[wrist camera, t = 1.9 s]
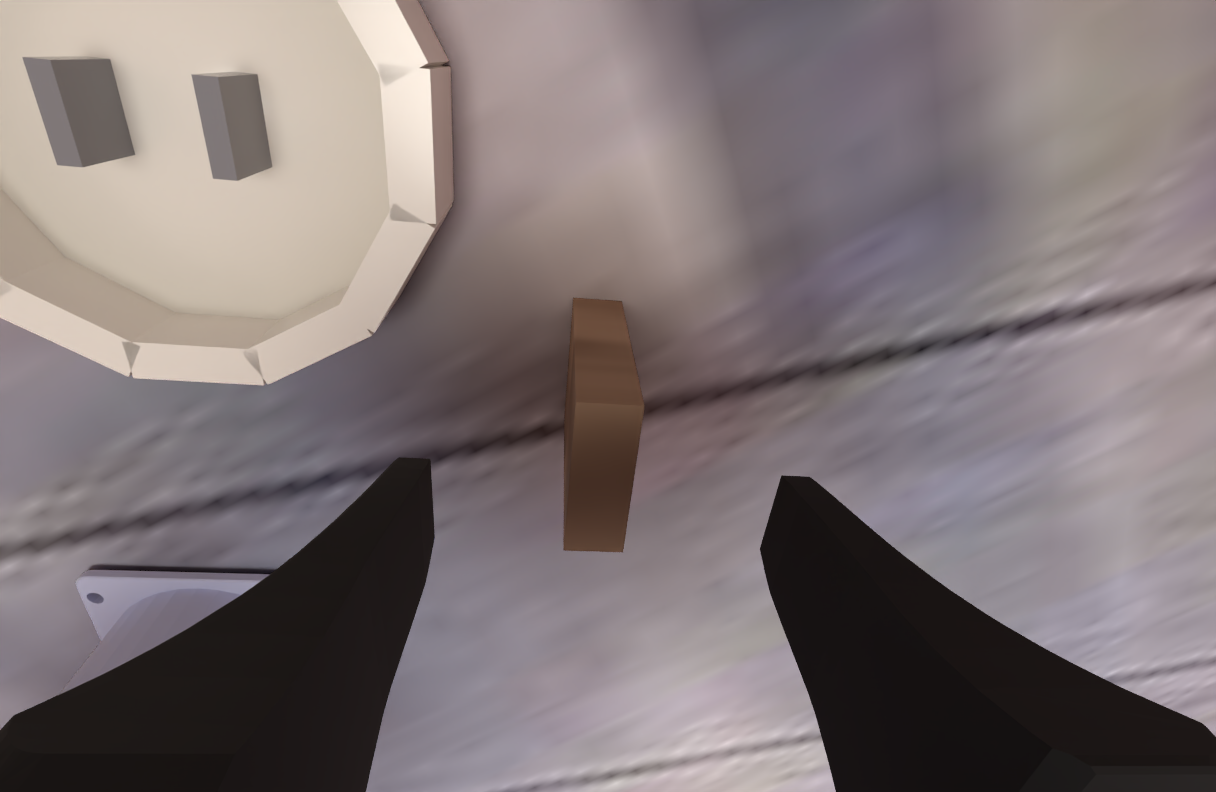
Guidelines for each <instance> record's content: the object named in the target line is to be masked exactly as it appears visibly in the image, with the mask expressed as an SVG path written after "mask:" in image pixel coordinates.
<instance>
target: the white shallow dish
mask: <svg viewBox="0 0 1216 792" xmlns="http://www.w3.org/2000/svg"><path fill="white" fill-rule="evenodd" d="M447 62H449V60H448V58H447V56H446V54H445V52H444V50H443V48H442V46H441V44H440V42H439V40H438V38H437V36H436V35H435V33H434V31H433V29H432V27H431V25H430V23H429V21H428V19H427V17H426V15H425V13H424V11H423V9H422V7H421V5H420V3H419V1H418V0H0V318H2V319H4V320H6V321H9V322H11V323H13V324H15V325H17V326H19V327H22V328H24V329H26V330H28V331H30V332H32V333H35V334H37V335H39V336H41V337H43V338H45V339H48V340H50V341H52V342H54V343H56V344H58V345H61V346H63V347H65V348H67V349H69V350H71V351H74V352H76V353H78V354H80V355H82V356H84V357H87V358H89V359H91V360H93V361H95V362H97V363H100V364H102V365H104V366H106V367H108V368H110V369H113V370H115V371H117V372H119V373H121V374H123V375H126V376H128V377H129V376H130V375H133V378H141V379H159V380H177V381H195V382H213V383H231V384H249V385H265V384H266V383H267V384H271V383H273V382H275V381H277V380H279V379H281V378H283V377H285V376H288V375H290V374H292V373H294V372H296V371H298V370H300V369H302V368H304V367H307V366H309V365H311V364H313V363H315V362H317V361H319V360H321V359H323V358H326V357H328V356H330V355H332V354H334V353H336V352H338V351H340V350H343V349H345V348H347V347H349V346H351V345H353V344H355V343H357V342H359V341H362V340H364V339H366V338H368V337H370V336H372V335H373V333H375V332H376V330H377V329H378V328H379V326H380V325H381V323H382V322H383V320H384V319H385V317H386V316H387V314H388V313H389V311H390V310H391V308H392V307H393V306H394V304H395V303H396V301H397V300H398V298H399V297H400V295H401V293H402V291H403V290H404V288H405V286H406V285H407V283H408V281H409V279H410V278H411V276H412V274H413V273H414V271H415V269H416V267H417V266H418V264H419V262H420V260H421V259H422V257H423V255H424V254H425V252H426V250H427V248H428V247H429V245H430V243H431V241H432V240H433V238H434V236H435V235H436V233H437V231H438V229H439V228H440V226H441V224H442V222H443V221H444V219H445V217H446V216H447V214H448V212H449V210H450V209H451V207H452V205H453V204H452V202H453V201H454V186H453V145H452V104H451V67H450V66H442V65H443V64H445V63H447Z"/></svg>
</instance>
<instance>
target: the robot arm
mask: <svg viewBox="0 0 1216 792" xmlns="http://www.w3.org/2000/svg"><path fill="white" fill-rule="evenodd" d="M434 538H435V535H434V517H433V498H432V480H431V461H430V459H420V458H398V459H397V460H395V461H394V462H393V463H392V464H391V465H390V466H389V467H388V468H387V469H386V470H385V471H384V472H383V473H382V474H381V475H380V476H379V477H378V479H377V480H376V481H375V482H374V483H373V484H372V485H371V486H370V487H369V488H368V489H367V490H366V491H365V492H364V493H363V494H362V495H361V496H360V497H359V498H358V499H357V500H356V501H355V502H354V503H353V504H351V505H350V506H349V507H348V508H347V509H346V510H345V511H344V512H343V513H342V514H341V515H340V516H339V517H338V518H337V519H336V520H335V521H334V522H332V523H331V524H330V525H329V526H328V527H327V528H326V529H325V530H324V531H322V532H321V533H320V534H319V535H318V536H317V537H315V538H314V539H313V540H312V541H311V542H310V543H308V544H307V545H306V546H305V547H304V548H302V549H301V550H300V551H299V552H298V553H297V554H295V555H294V556H293V557H292V558H291V559H289V560H288V561H287V562H285V563H284V564H283V565H282V566H280V567H279V568H278V569H276V570H275V571H274V572H273V573H271V574H237V573H199V572H161V571H123V570H87V571H85V572H84V573H83V574H82V575H81V576H80V577H79V578H78V579H77V581H76V582H75V583H76V587H77V590H78V592H79V594H80V596H81V598H82V601H83V603H84V605H85V607H86V609H87V612H88V614H89V616H90V618H91V621H92V623H93V625H94V627H95V629H96V632H97V634H98V636H99V638H100V640H101V642H100V643H99V645H98V646H97V647H96V648H95V650H94V651H93V652H92V653H91V655H90V656H89V657H88V658H87V660H86V661H85V662H84V664H83V665H82V666H81V667H80V669H79V670H78V671H77V672H76V674H75V675H74V676H73V677H72V679H71V680H70V681H69V683H68V684H67V685H66V686H65V688H64V689H63V690H62V691H61V693H60V694H59V695H57V696H55V697H53V698H51V699H49V700H47V701H45V702H42V703H40V704H38V705H36V706H34V707H32V708H29V709H27V710H25V711H23V712H20V713H18V714H16V715H14V716H13V717H12V718H11V719H10V720H9V721H8V722H7V723H6V724H5V726H4V727H3V728H2V729H1V730H0V792H366V788H367V783H368V779H369V774H370V770H371V765H372V761H373V756H374V752H375V748H376V743H377V739H378V735H379V730H380V726H381V722H382V717H383V713H384V709H385V706H386V702H387V699H388V695H389V692H390V688H391V685H392V682H393V679H394V676H395V673H396V670H397V667H398V664H399V661H400V658H401V655H402V652H403V649H404V646H405V643H406V640H407V637H408V634H409V632H410V629H411V626H412V623H413V620H414V617H415V614H416V610H417V607H418V604H419V601H420V598H421V595H422V592H423V589H424V586H425V583H426V578H427V573H428V568H429V564H430V559H431V553H432V548H433V543H434ZM760 551H761V556H762V560H763V565H764V570H765V574H766V578H767V582H768V586H769V590H770V594H771V596H772V599H773V602H774V605H775V607H776V610H777V613H778V615H779V618H780V621H781V623H782V626H783V629H784V631H785V634H786V636H787V639H788V642H789V644H790V647H791V649H792V652H793V655H794V657H795V660H796V662H797V665H798V668H799V670H800V673H801V675H802V678H803V681H804V683H805V686H806V688H807V691H808V694H809V697H810V700H811V703H812V705H813V708H814V711H815V714H816V718H817V721H818V725H819V729H820V732H821V736H822V740H823V743H824V747H825V751H826V754H827V758H828V762H829V765H830V769H831V773H832V778H833V782H834V786H835V790H836V792H1216V737H1215V736H1214V735H1213V734H1212V733H1211V731H1210V730H1209V729H1208V728H1207V727H1206V726H1205V725H1203V724H1202V723H1200V722H1198V721H1196V720H1193V719H1191V718H1189V717H1187V716H1184V715H1182V714H1180V713H1178V712H1175V711H1173V710H1171V709H1168V708H1166V707H1164V706H1162V705H1159V704H1157V703H1155V702H1153V701H1150V700H1148V699H1146V698H1144V697H1141V696H1139V695H1137V694H1134V693H1132V692H1130V691H1128V690H1125V689H1123V688H1121V687H1119V686H1117V685H1115V684H1113V683H1111V682H1109V681H1107V680H1105V679H1103V678H1101V677H1099V676H1097V675H1095V674H1093V673H1091V672H1089V671H1087V670H1085V669H1083V668H1081V667H1079V666H1077V665H1075V664H1073V663H1071V662H1069V661H1067V660H1065V659H1063V658H1061V657H1060V656H1058V655H1056V654H1054V653H1052V652H1050V651H1048V650H1046V649H1045V648H1043V647H1041V646H1039V645H1038V644H1036V643H1034V642H1032V641H1031V640H1029V639H1027V638H1025V637H1024V636H1022V635H1020V634H1019V633H1017V632H1015V631H1013V630H1012V629H1010V628H1008V627H1006V626H1005V625H1003V624H1001V623H1000V622H998V621H997V620H995V619H993V618H992V617H990V616H988V615H987V614H985V613H984V612H982V611H981V610H979V609H978V608H976V607H975V606H973V605H972V604H970V603H969V602H967V601H966V600H964V599H963V598H961V597H960V596H958V595H957V594H955V593H954V592H952V591H951V590H949V589H948V588H946V587H945V586H944V585H942V584H941V583H939V582H938V581H937V580H935V579H934V578H932V577H931V576H930V575H929V574H927V573H926V572H925V571H923V570H922V569H921V568H919V567H918V566H917V565H915V564H914V563H913V562H911V561H910V560H909V559H907V558H906V557H905V556H904V555H902V554H901V553H900V552H899V551H897V550H896V549H895V548H894V547H892V546H891V545H890V544H889V543H888V542H886V541H885V540H884V539H883V538H882V537H880V536H879V535H878V534H877V533H876V532H874V531H873V530H872V529H871V528H870V527H868V526H867V525H866V524H865V523H864V522H863V521H861V520H860V519H859V518H858V517H857V516H856V515H855V514H853V513H852V512H851V511H850V510H849V509H848V508H846V507H845V506H844V505H843V504H842V503H841V502H840V501H838V500H837V499H836V498H835V497H834V496H833V495H831V494H830V493H829V492H828V491H827V490H825V489H824V488H823V487H822V486H821V485H819V484H818V483H817V482H816V481H814V480H813V479H812V478H810V477H801V476H781V479H780V482H779V486H778V489H777V493H776V496H775V499H774V503H773V506H772V510H771V513H770V516H769V520H768V523H767V527H766V530H765V533H764V537H763V540H762V544H761V547H760Z"/></svg>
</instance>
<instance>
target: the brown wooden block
mask: <svg viewBox="0 0 1216 792" xmlns="http://www.w3.org/2000/svg"><path fill="white" fill-rule="evenodd" d="M643 413H644V401H643V397H642V392H641V388H640V383H639V379H638V374H637V369H636V365H635V360H634V356H633V351H632V347H631V342H630V337H629V333H628V328H627V324H626V319H625V315H624V310H623V306H622V301H610V300H597V299H583V298H573V308H572V321H571V335H570V348H569V362H568V375H567V389H566V402H565V416H564V550H568V551H600V552H623V549H624V542H625V535H626V528H627V521H628V515H629V508H630V501H631V494H632V488H633V481H634V474H635V467H636V460H637V454H638V447H639V440H640V433H641V426H642V420H643Z"/></svg>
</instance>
